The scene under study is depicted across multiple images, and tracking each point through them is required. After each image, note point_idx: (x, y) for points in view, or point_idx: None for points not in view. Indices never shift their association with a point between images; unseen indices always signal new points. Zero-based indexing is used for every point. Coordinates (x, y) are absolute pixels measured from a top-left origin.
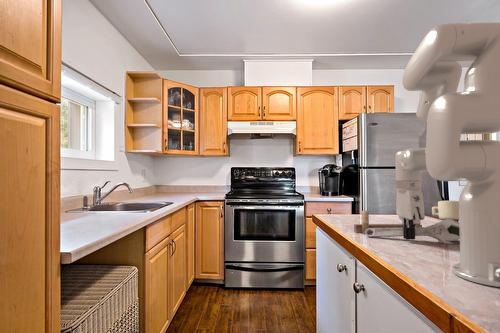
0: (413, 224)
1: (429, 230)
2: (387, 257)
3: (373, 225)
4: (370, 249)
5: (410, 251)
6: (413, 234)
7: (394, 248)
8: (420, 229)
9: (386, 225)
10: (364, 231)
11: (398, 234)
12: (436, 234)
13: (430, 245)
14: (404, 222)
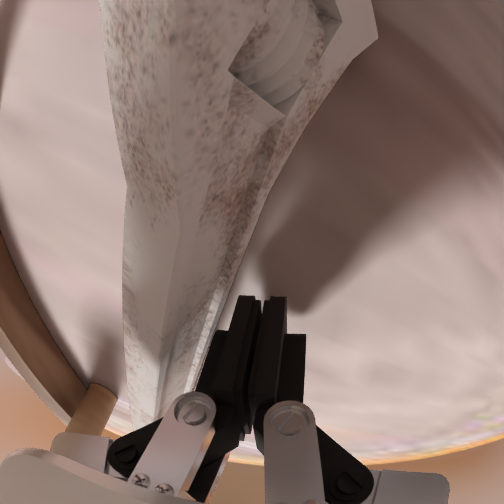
0: (331, 466)
1: (236, 155)
2: (470, 435)
3: (43, 385)
4: (382, 456)
5: (463, 378)
6: (303, 353)
7: (398, 412)
8: (188, 270)
9: (2, 328)
10: (111, 412)
11: (195, 372)
12: (315, 72)
13: (393, 197)
14: (218, 475)
